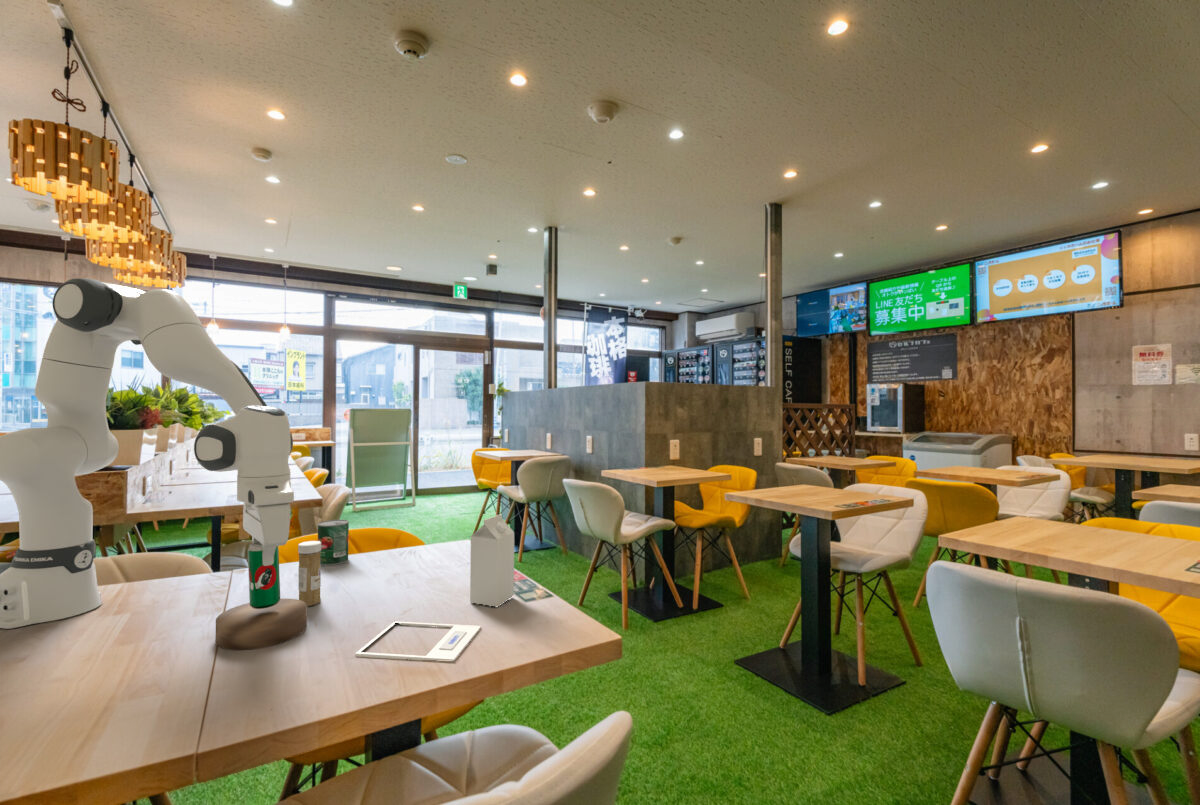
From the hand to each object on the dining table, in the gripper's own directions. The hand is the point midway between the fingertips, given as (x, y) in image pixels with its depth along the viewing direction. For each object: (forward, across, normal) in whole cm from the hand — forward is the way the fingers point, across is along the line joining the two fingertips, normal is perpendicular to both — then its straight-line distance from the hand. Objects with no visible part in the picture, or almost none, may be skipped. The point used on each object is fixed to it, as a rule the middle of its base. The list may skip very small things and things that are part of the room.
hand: (263, 561), depth 107 cm
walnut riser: (+14, 0, 0) cm, 14 cm away
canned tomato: (+14, -42, +26) cm, 51 cm away
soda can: (+9, +1, 0) cm, 9 cm away
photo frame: (+14, +24, +21) cm, 35 cm away
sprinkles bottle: (+14, -11, +11) cm, 21 cm away
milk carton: (+14, +14, +42) cm, 47 cm away
